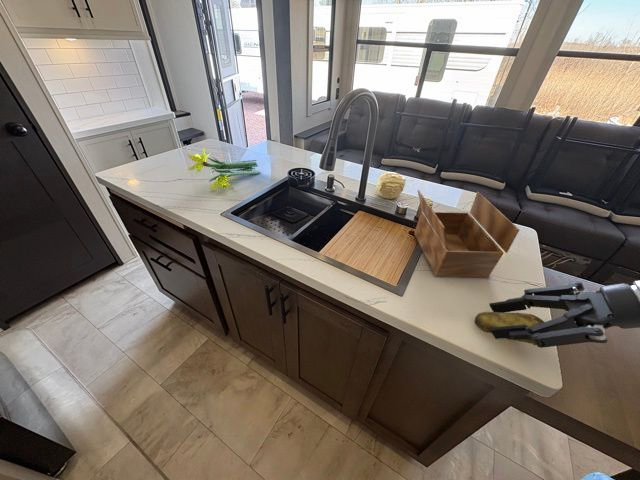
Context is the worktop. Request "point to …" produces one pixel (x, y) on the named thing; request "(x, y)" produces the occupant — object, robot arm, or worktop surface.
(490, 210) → the wooden box
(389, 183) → the sculpture
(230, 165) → the daffodil flowers
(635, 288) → the robot arm
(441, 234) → the flap
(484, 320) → the potato
